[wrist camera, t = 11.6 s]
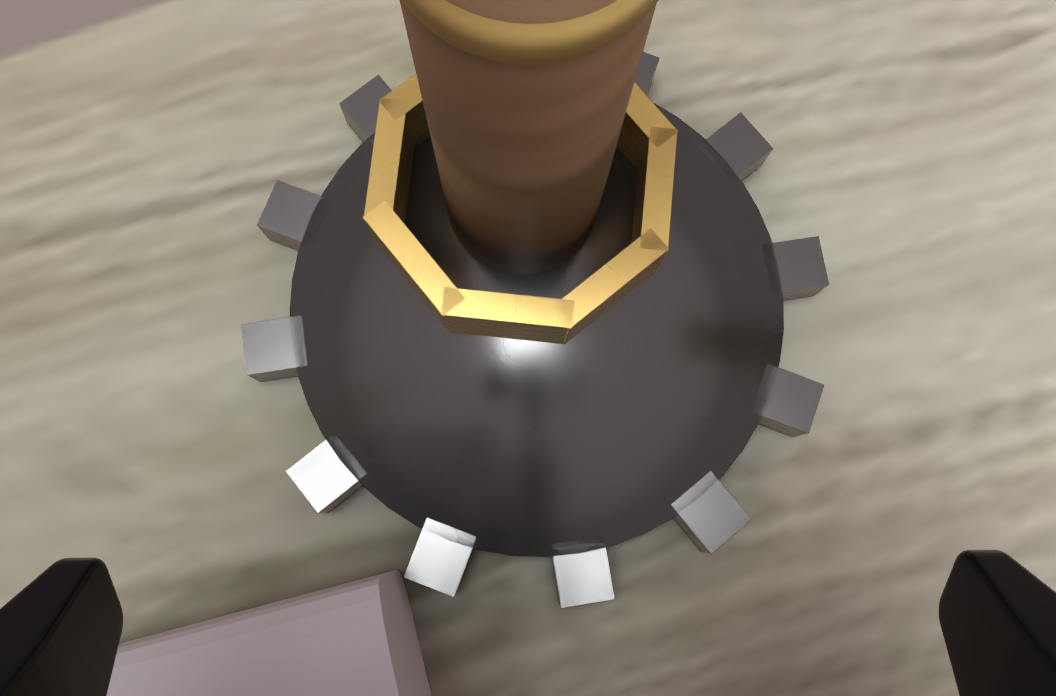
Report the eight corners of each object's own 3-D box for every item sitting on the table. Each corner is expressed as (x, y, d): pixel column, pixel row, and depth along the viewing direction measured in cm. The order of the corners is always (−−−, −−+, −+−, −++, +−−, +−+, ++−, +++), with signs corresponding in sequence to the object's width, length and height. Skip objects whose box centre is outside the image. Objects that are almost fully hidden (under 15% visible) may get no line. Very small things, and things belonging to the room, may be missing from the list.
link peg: (630, 174, 23) (769, -228, 10) (552, 307, 22) (598, 51, 10) (494, 99, 23) (470, -381, 10) (413, 228, 22) (287, -118, 10)
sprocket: (928, 355, 23) (994, 331, 20) (494, 728, 21) (491, 766, 18) (573, -44, 25) (582, -124, 22) (144, 274, 23) (86, 237, 20)
